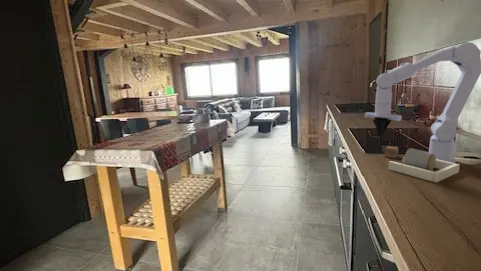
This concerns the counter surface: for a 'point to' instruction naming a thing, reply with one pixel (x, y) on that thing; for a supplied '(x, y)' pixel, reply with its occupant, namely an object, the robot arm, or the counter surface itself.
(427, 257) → the counter surface
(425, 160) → the ceramic mug
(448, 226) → the counter surface
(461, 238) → the counter surface
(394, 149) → the walnut block
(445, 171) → the frame
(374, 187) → the counter surface
